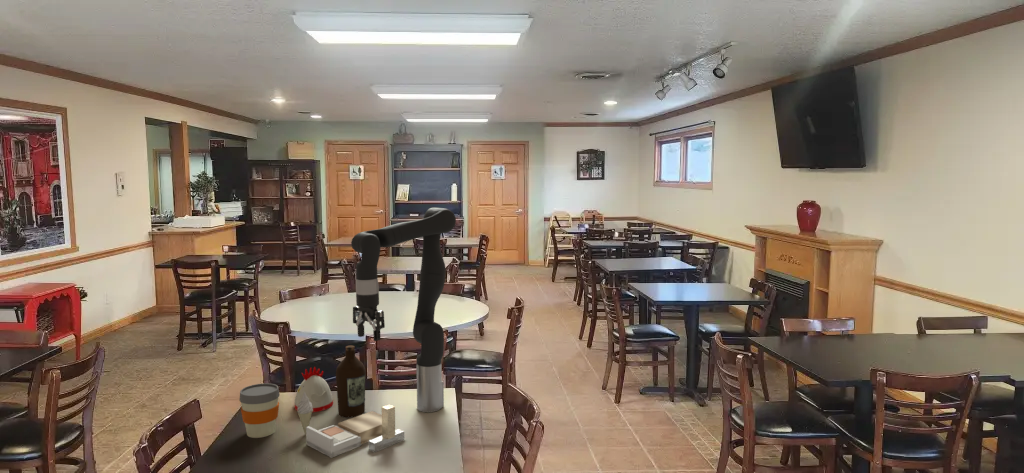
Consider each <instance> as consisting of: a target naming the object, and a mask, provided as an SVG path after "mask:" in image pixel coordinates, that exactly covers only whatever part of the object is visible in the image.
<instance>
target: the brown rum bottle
mask: <svg viewBox="0 0 1024 473" xmlns="http://www.w3.org/2000/svg"><path fill="white" fill-rule="evenodd" d="M355 348H356V347H355V345H346V346H345V351H344V352H345V356H344V358H343V359H342V360H341V361H340V363H338V365H337V366H336V370H335V383H336V395H337V413H338V415H339V417H342V418H348V419H351V418H354V417H357V416H360V415H362V414H365V412H366V408H365V407H366V375H367V374H366V373H367V372H366V368H365V367H366V366H365V365H364V363H363V362H362V361H361V360H360V359H358V357H357V356H356V349H355Z"/></svg>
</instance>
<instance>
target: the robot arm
mask: <svg viewBox="0 0 1024 473" xmlns="http://www.w3.org/2000/svg"><path fill="white" fill-rule="evenodd" d="M456 222H457V219H456V215H455V213H454V212H453V211H451V210H450V209H448V208H443V207H430V208H428V209H427V210H426V211H425V213H424V215H423V218H421V219H416V220H410V221H404V222H398V223H394V224H391V225H386V226H384V227H382V228H377V229H371V230H370V229H369V230H365V231H362V232H361V231H360V232H358V233H356V234H355V235H354V236H353V237H352V239H351V242H350V245H351V249H353V251H354V252H356V253H359V254H361V257H360V261H358V262H357V263H356V266H355V277H356V280H355V294H356V295H355V301H356V304H355V306H352V323H353V324H355V325H356V326H357V336H358V337H359V338H361V337H364V336H365V324H366V323H365V322H367V323H368V324H369V325H370V326H371V327H372V328H373V330H372V332H373V342H378V341H380V340H381V330H382V329H384V328H385V327H386V326H385V325H386V324H385V312H384V310H378V307H379V304H380V292H379V291H380V287H379V286H380V285H379V278H378V277H379V276H378V263H379V259H380V254H381V248H390V247H393V246H397V245H400V244H403V243H405V242H409V241H412V240H416V239H420V238H422V253H421V264H420V274H419V275H420V276H419V287H418V295H417V306H416V312H415V318H414V322H413V326H412V336H413V338H414V340H415V341H416V342H418V343H419V344H420V345H421V346H420V354H419V353H418V355H417V356H416V409H417V410H418V411H419V412H424V413H433V412H437V411H439V410H441V409H442V408H443V407H444V406H445V404H444V403H445V398H444V396H445V395H444V393H445V392H444V389H445V386H444V381H443V378H442V377H443V376H442V359H443V356H444V349H445V348H444V347H445V344H444V343H445V334H444V329H443V326H441V324H439V323H437V322H435V311H436V305H437V302H438V300H439V298H440V296H441V294H442V292H443V290H444V287H445V283H446V282H445V281H446V279H445V278H446V271H447V270H446V262H445V259H444V257H443V254H442V250H441V234H446V233H450V232H451V231H453V229H454V228H455V226H456Z"/></svg>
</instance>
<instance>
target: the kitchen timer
mask: <svg viewBox="0 0 1024 473" xmlns="http://www.w3.org/2000/svg"><path fill="white" fill-rule="evenodd" d="M320 371H321V369H320V368H316V366H314V367H313V368H312V367H310V368H309V371H308V369H307V368H305V370H304V373H303V372H301V375H302V377H303V381H302V382H301V383H300V385H299V387H298V388H297V391H296V394H295V397H294V410H295V411H298V410H297V408H298V405H299V403H300V402H301V398H302V396H303V394H304V391H305V393H306V395H307V397H308V399H309V402H311V403H312V409H313V411H312V413H317V412H322V411H325V410H328V409H330V408H332V407H333V405H334V397H333V394H332V391H331V389H330V386H329V384H328V382H327V381H326V380H325V379H324V378H323V375H324V371H323V370H322V371H321V372H320Z"/></svg>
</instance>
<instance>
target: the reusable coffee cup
mask: <svg viewBox="0 0 1024 473" xmlns="http://www.w3.org/2000/svg"><path fill="white" fill-rule="evenodd" d="M280 394H281V393H280V389H279V386H278V385H277V384H275V383H271V382H270V383H265V382H264V383H256V384H251V385H247V386H245V387H243V388H242V389H240V392H239V402H240V404H241V405H240V406H241V407H240V412H241V418H242V422H243V423H244V426H245V430H246V432H245V433H246V436H247V437H249V438H253V439H258V438H260V439H261V438H264V437H268V436H271V435H272V434H275V432H276V427H277V425H276V423H277V418H278V416H279V409H280V408H279V407H280V402H279V397H280Z"/></svg>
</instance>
